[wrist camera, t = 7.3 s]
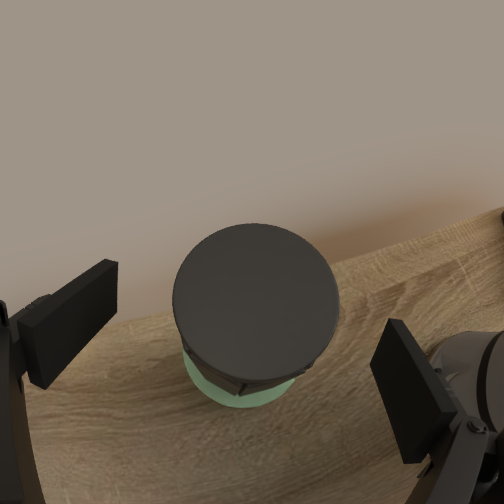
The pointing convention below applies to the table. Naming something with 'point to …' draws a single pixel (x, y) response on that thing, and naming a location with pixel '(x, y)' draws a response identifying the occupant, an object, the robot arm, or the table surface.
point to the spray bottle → (229, 399)
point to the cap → (254, 307)
